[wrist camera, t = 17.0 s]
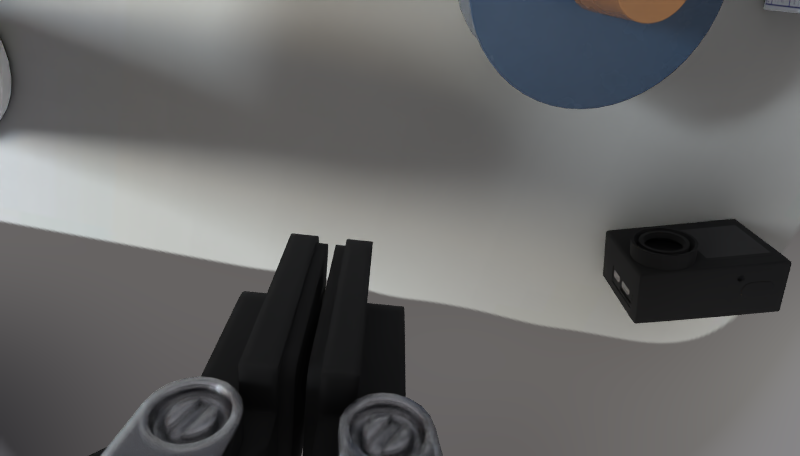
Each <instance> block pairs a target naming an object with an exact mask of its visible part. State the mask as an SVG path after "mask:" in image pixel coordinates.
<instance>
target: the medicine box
mask: <svg viewBox="0 0 800 456" xmlns="http://www.w3.org/2000/svg"><path fill="white" fill-rule="evenodd" d="M764 9H765V10H773V11H783V12H791V13H800V0H765V4H764Z"/></svg>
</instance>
